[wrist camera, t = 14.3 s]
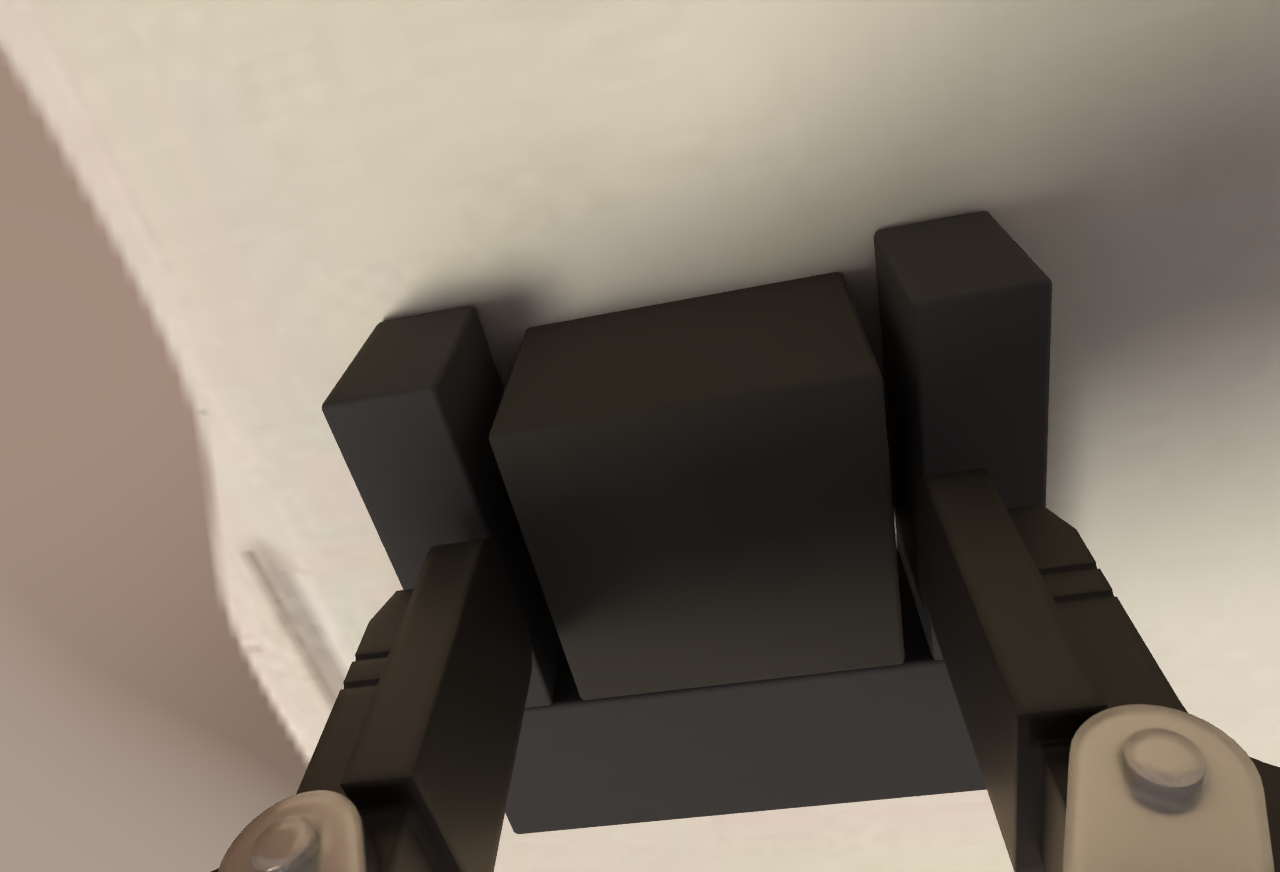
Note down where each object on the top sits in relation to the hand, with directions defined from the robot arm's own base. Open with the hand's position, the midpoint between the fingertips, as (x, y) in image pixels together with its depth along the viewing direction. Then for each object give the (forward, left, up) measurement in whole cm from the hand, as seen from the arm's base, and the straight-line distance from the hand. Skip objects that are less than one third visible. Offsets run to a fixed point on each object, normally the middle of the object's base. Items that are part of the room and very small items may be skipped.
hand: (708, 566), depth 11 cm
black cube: (0, 0, -4) cm, 4 cm away
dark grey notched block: (+2, 0, -3) cm, 3 cm away
